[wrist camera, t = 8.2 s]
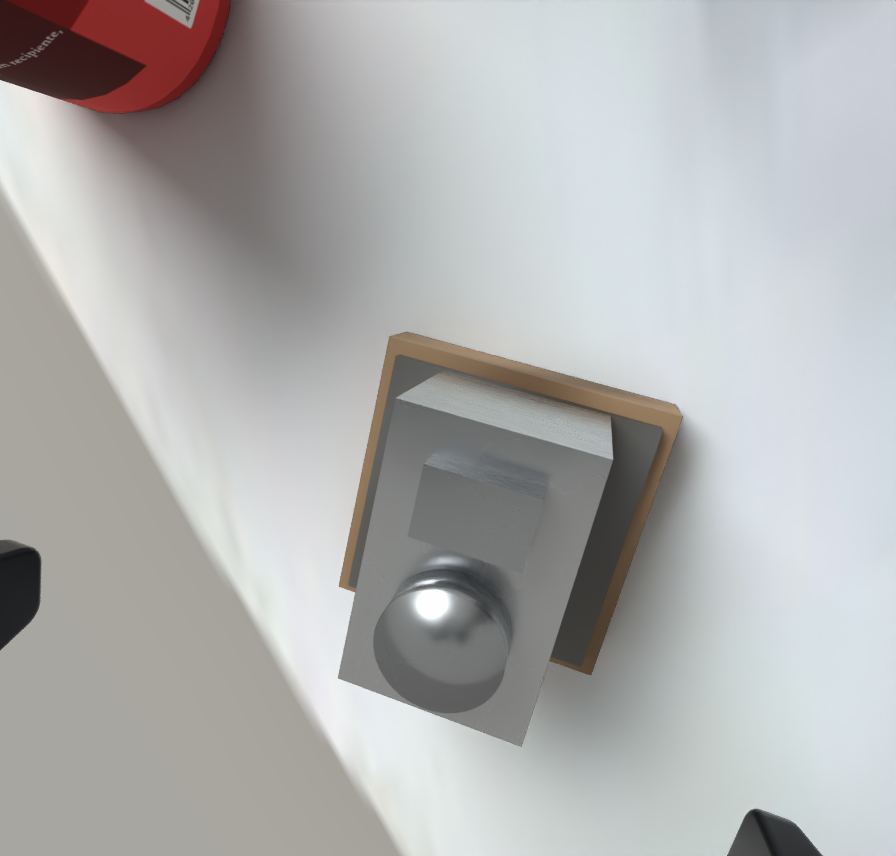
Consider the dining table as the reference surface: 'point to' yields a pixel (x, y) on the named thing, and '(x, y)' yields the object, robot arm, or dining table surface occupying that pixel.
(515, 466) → the housing
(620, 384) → the dining table surface
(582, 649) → the stand
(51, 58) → the canned food
